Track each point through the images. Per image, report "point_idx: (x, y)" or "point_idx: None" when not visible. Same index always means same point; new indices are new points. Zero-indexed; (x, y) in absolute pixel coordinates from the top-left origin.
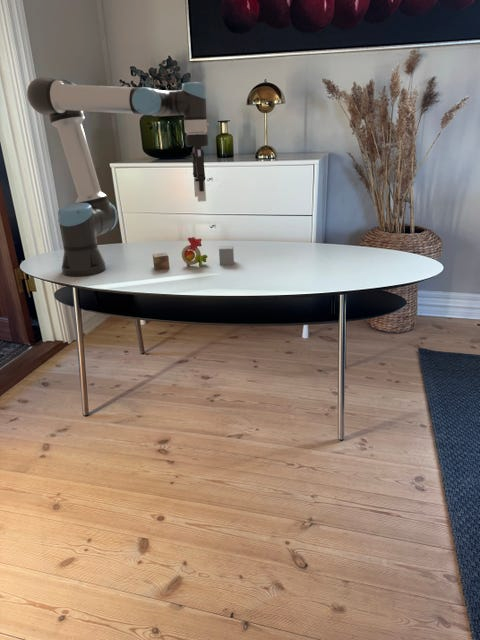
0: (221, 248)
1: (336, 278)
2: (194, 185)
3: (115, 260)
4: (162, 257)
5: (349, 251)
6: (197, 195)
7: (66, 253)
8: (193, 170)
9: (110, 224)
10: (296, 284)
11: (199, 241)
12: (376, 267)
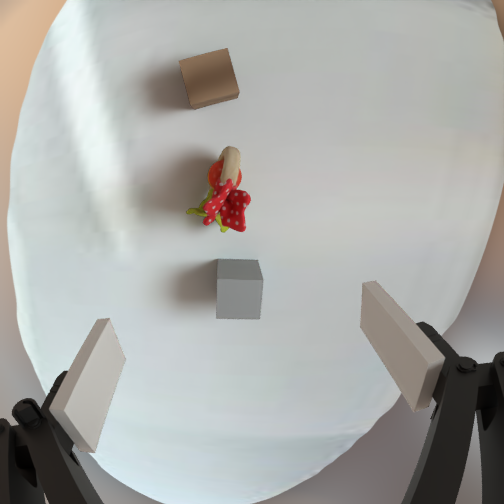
0: (225, 286)
1: (113, 436)
2: (398, 326)
3: None
4: (185, 86)
5: (285, 468)
6: (364, 302)
7: None
8: (501, 394)
9: None
10: None
11: (228, 222)
12: (177, 478)
